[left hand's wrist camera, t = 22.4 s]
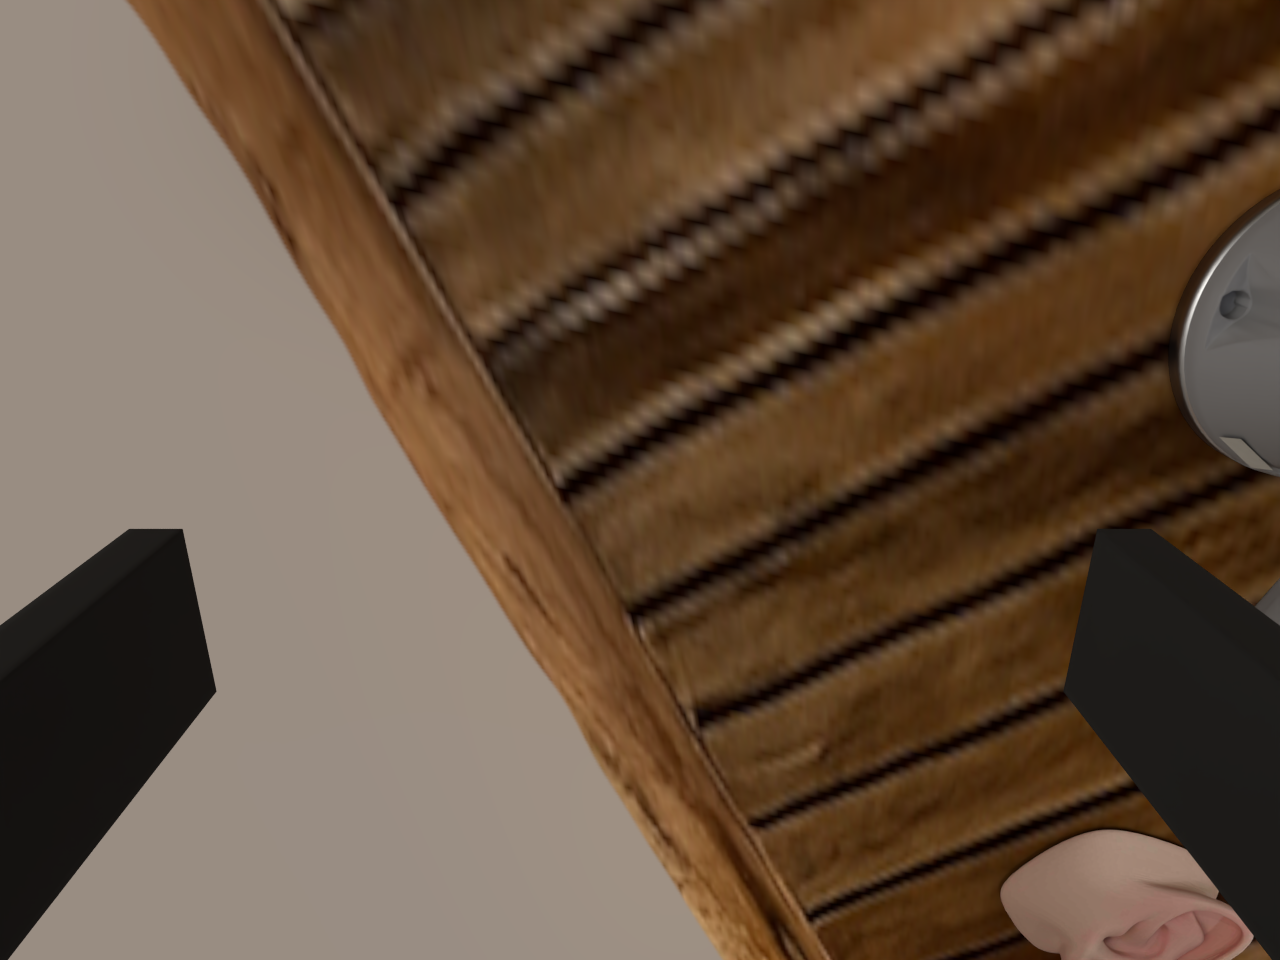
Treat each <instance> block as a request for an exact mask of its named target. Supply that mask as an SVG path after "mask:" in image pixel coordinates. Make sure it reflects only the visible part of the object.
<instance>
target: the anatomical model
mask: <svg viewBox="0 0 1280 960" xmlns="http://www.w3.org/2000/svg"><path fill="white" fill-rule="evenodd" d="M1218 892H1219V891H1218V889H1217V888H1216V887H1215V885H1214V884H1213V883H1212V882H1211V880H1210V879H1209V878H1208V876H1207V875H1206V874H1205V873H1204V871H1203V870H1202V869H1201V867H1200V866H1199V865H1198V864H1197V862H1196V861H1195V860H1194V858H1193V857H1192V856H1191V855H1190V853H1189V852H1188V851H1187V850H1186V849H1184V848H1182V847H1179V846H1176V845H1174V844H1171V843H1168V842H1165V841H1162V840H1159V839H1156V838H1153V837H1149V836H1146V835H1142V834H1138V833H1133V832H1128V831H1121V830H1097V831H1091V832H1087V833H1083V834H1080V835H1077V836H1074V837H1072V838H1070V839H1067V840H1065V841H1063V842H1061V843H1059V844H1057V845H1055V846H1053V847H1051V848H1049V849H1048V850H1046V851H1044V852H1043V853H1041V854H1039V855H1038V856H1036V857H1035V858H1033V859H1032V860H1030V861H1029V862H1027V863H1026V864H1024V865H1023V866H1022V867H1021V868H1019V869H1018V870H1017V871H1016V872H1014V873H1013V874H1012V875H1011V876H1010V877H1009V878H1008V879H1007V880H1006V881H1005V883H1004V884H1003V886H1002V889H1001V893H1000V895H1001V900H1002V903H1003V905H1004V908H1005V910H1006V911H1007V913H1008V915H1009V916H1010V918H1011V919H1012V921H1013V923H1014V924H1015V926H1016V927H1017V928H1018V930H1019V931H1020V932H1021V933H1022V934H1023V935H1024V936H1025V937H1026V938H1027V939H1028V940H1029V941H1030V942H1031V943H1032V944H1033V945H1034V946H1036V947H1037V948H1039V949H1041V950H1044V951H1047V952H1051V953H1060V955H1061V959H1062V960H1231V959H1233V958H1234V957H1236V956H1237V955H1238V954H1240V953H1241V952H1242V951H1243V950H1244V949H1245V948H1246V947H1247V946H1248V945H1249V944H1250V943H1251V941H1252V939H1253V934H1252V933H1251V932H1250V930H1249V929H1248V928H1247V927H1246V925H1245V924H1244V923H1243V921H1242V920H1241V919H1240V918H1239V916H1238V915H1237V914H1236V912H1235V911H1234V910H1233V909H1232V907H1231V906H1230V905H1228V904H1226V903H1224V902H1222V901H1219V900H1216V897H1217V895H1218Z"/></svg>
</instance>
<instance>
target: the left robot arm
mask: <svg viewBox="0 0 1280 960" xmlns="http://www.w3.org/2000/svg"><path fill="white" fill-rule="evenodd" d="M1169 374H1170V381H1171V386H1172V390H1173V394H1174V397H1175V399H1176V402H1177V405H1178V407H1179V409H1180V411H1181V413H1182V415H1183V417H1184V418H1185V420H1186V421H1187V423H1188V424H1189V426H1190V427H1191V428H1192V429H1193V431H1194V432H1195V433H1196V434H1197V435H1198V436H1199V437H1200V438H1201V439H1202V440H1203V441H1204V442H1205V443H1206V444H1208V445H1209V446H1211V447H1212V448H1213V449H1215V450H1216V451H1218V452H1220V453H1221V454H1223V455H1225V456H1227V457H1229V458H1231V459H1233V460H1234V461H1236V462H1238V463H1240V464H1242V465H1244V466H1247V467H1249V468H1252V469H1254V470H1257V471H1261V472H1264V473H1267V474H1270V475H1274V476H1278V477H1280V189H1279V190H1278V191H1276V192H1274V193H1273V194H1271V195H1269V196H1268V197H1266V198H1265V199H1263V200H1262V201H1260V202H1259V203H1257V204H1256V205H1255V206H1253V207H1252V208H1251V209H1249V210H1248V211H1247V212H1246V213H1244V214H1243V215H1242V216H1241V217H1240V218H1239V219H1237V220H1236V221H1235V222H1234V223H1233V224H1232V225H1231V226H1230V227H1229V228H1228V229H1227V230H1226V231H1225V232H1224V233H1223V234H1222V235H1221V236H1220V237H1219V239H1218V240H1217V241H1216V242H1215V243H1214V244H1213V246H1212V247H1211V248H1210V249H1209V251H1208V252H1207V253H1206V255H1205V256H1204V258H1203V259H1202V260H1201V262H1200V263H1199V265H1198V266H1197V268H1196V270H1195V271H1194V273H1193V275H1192V276H1191V278H1190V280H1189V282H1188V284H1187V286H1186V288H1185V290H1184V292H1183V295H1182V297H1181V300H1180V302H1179V304H1178V307H1177V310H1176V314H1175V317H1174V320H1173V325H1172V330H1171V334H1170V342H1169ZM215 693H216V687H215V682H214V677H213V673H212V668H211V663H210V658H209V654H208V649H207V644H206V639H205V634H204V630H203V625H202V620H201V615H200V610H199V606H198V601H197V596H196V591H195V587H194V582H193V577H192V572H191V567H190V563H189V558H188V553H187V548H186V543H185V538H184V534H183V529H129V530H127V531H126V532H125V533H123V534H122V535H120V536H119V537H118V538H116V539H115V540H114V541H112V542H111V543H110V544H108V545H107V546H106V547H104V548H103V549H102V550H100V551H99V552H98V553H96V554H95V555H94V556H92V557H91V558H90V559H88V560H87V561H86V562H84V563H83V564H82V565H80V566H79V567H78V568H76V569H75V570H74V571H72V572H71V573H70V574H68V575H67V576H66V577H64V578H63V579H62V580H60V581H59V582H58V583H56V584H55V585H54V586H52V587H51V588H50V589H48V590H47V591H46V592H44V593H43V594H42V595H40V596H39V597H38V598H36V599H35V600H34V601H32V602H31V603H30V604H28V605H27V606H26V607H24V608H23V609H22V610H20V611H19V612H18V613H16V614H15V615H14V616H12V617H11V618H10V619H8V620H7V621H6V622H4V623H3V624H2V625H0V960H8V959H9V957H10V956H11V955H12V954H13V952H14V951H15V950H16V948H17V947H18V946H19V945H20V943H21V942H22V941H23V939H24V938H25V937H26V936H27V934H28V933H29V932H30V930H31V929H32V928H33V927H34V925H35V924H36V923H37V921H38V920H39V919H40V918H41V916H42V915H43V914H44V912H45V911H46V910H47V909H48V907H49V906H50V905H51V903H52V902H53V901H54V900H55V898H56V897H57V896H58V894H59V893H60V892H61V891H62V889H63V888H64V887H65V885H66V884H67V883H68V882H69V880H70V879H71V878H72V876H73V875H74V874H75V873H76V871H77V870H78V869H79V867H80V866H81V865H82V864H83V862H84V861H85V860H86V858H87V857H88V856H89V855H90V853H91V852H92V851H93V849H94V848H95V847H96V846H97V844H98V843H99V842H100V840H101V839H102V838H103V837H104V835H105V834H106V833H107V831H108V830H109V829H110V828H111V826H112V825H113V824H114V822H115V821H116V820H117V819H118V817H119V816H120V815H121V813H122V812H123V811H124V810H125V808H126V807H127V806H128V804H129V803H130V802H131V801H132V799H133V798H134V797H135V795H136V794H137V793H138V792H139V790H140V789H141V788H142V786H143V785H144V784H145V783H146V781H147V780H148V779H149V777H150V776H151V775H152V774H153V772H154V771H155V770H156V768H157V767H158V766H159V765H160V763H161V762H162V761H163V759H164V758H165V757H166V756H167V754H168V753H169V752H170V750H171V749H172V748H173V747H174V745H175V744H176V743H177V741H178V740H179V739H180V738H181V736H182V735H183V734H184V732H185V731H186V730H187V729H188V727H189V726H190V725H191V723H192V722H193V721H194V720H195V718H196V717H197V716H198V714H199V713H200V712H201V711H202V709H203V708H204V707H205V705H206V704H207V703H208V702H209V700H210V699H211V698H212V696H213V695H214V694H215ZM1064 693H1065V694H1066V695H1067V696H1068V698H1069V699H1070V700H1071V702H1072V703H1073V704H1074V705H1075V707H1076V708H1077V709H1078V711H1079V712H1080V713H1081V714H1082V716H1083V717H1084V718H1085V720H1086V721H1087V722H1088V723H1089V725H1090V726H1091V727H1092V729H1093V730H1094V731H1095V732H1096V734H1097V735H1098V736H1099V738H1100V739H1101V740H1102V741H1103V743H1104V744H1105V745H1106V747H1107V748H1108V749H1109V750H1110V752H1111V753H1112V754H1113V756H1114V757H1115V758H1116V759H1117V761H1118V762H1119V763H1120V765H1121V766H1122V767H1123V768H1124V770H1125V771H1126V772H1127V774H1128V775H1129V776H1130V777H1131V779H1132V780H1133V781H1134V783H1135V784H1136V785H1137V786H1138V788H1139V789H1140V790H1141V792H1142V793H1143V794H1144V795H1145V797H1146V798H1147V799H1148V801H1149V802H1150V803H1151V804H1152V806H1153V807H1154V808H1155V810H1156V811H1157V812H1158V813H1159V815H1160V816H1161V817H1162V819H1163V820H1164V821H1165V822H1166V824H1167V825H1168V826H1169V828H1170V829H1171V830H1172V831H1173V833H1174V834H1175V835H1176V837H1177V838H1178V839H1179V840H1180V842H1181V843H1182V844H1183V846H1184V847H1185V848H1186V849H1187V851H1188V852H1189V853H1190V855H1191V856H1192V857H1193V858H1194V860H1195V861H1196V862H1197V864H1198V865H1199V866H1200V867H1201V869H1202V870H1203V871H1204V873H1205V874H1206V875H1207V876H1208V878H1209V879H1210V880H1211V882H1212V883H1213V884H1214V885H1215V887H1216V888H1217V889H1218V891H1219V892H1220V893H1221V894H1222V896H1223V897H1224V898H1225V900H1226V901H1227V902H1228V903H1229V905H1230V906H1231V907H1232V909H1233V910H1234V911H1235V912H1236V914H1237V915H1238V916H1239V918H1240V919H1241V920H1242V921H1243V923H1244V924H1245V925H1246V927H1247V928H1248V929H1249V930H1250V932H1251V933H1252V934H1253V936H1254V937H1255V938H1256V939H1257V941H1258V942H1259V943H1260V945H1261V946H1262V947H1263V948H1264V950H1265V951H1266V952H1267V954H1268V955H1269V956H1270V957H1271V959H1272V960H1280V578H1279V579H1278V581H1277V582H1276V583H1275V584H1274V585H1273V586H1272V587H1271V589H1270V590H1269V591H1268V592H1267V593H1266V594H1265V595H1264V597H1263V598H1262V599H1261V600H1260V601H1259V602H1258V603H1257V605H1256V606H1255V607H1254V606H1253V605H1252V604H1250V603H1249V602H1248V601H1246V600H1245V599H1244V598H1242V597H1241V596H1240V595H1238V594H1237V593H1236V592H1234V591H1233V590H1232V589H1230V588H1229V587H1228V586H1226V585H1225V584H1224V583H1222V582H1221V581H1220V580H1218V579H1217V578H1216V577H1214V576H1213V575H1212V574H1210V573H1209V572H1208V571H1206V570H1205V569H1204V568H1202V567H1201V566H1200V565H1198V564H1197V563H1196V562H1194V561H1193V560H1192V559H1190V558H1189V557H1188V556H1186V555H1185V554H1184V553H1182V552H1181V551H1180V550H1178V549H1177V548H1176V547H1174V546H1173V545H1172V544H1170V543H1169V542H1168V541H1166V540H1165V539H1164V538H1162V537H1161V536H1160V535H1158V534H1157V533H1156V532H1154V531H1153V530H1152V529H1097V534H1096V538H1095V543H1094V548H1093V553H1092V558H1091V562H1090V567H1089V572H1088V577H1087V582H1086V586H1085V591H1084V596H1083V601H1082V606H1081V610H1080V615H1079V620H1078V625H1077V629H1076V634H1075V639H1074V644H1073V649H1072V653H1071V658H1070V663H1069V668H1068V673H1067V677H1066V682H1065V687H1064Z"/></svg>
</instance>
